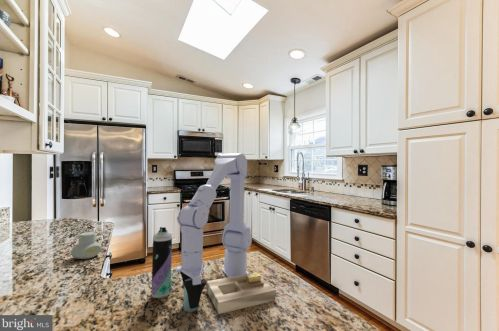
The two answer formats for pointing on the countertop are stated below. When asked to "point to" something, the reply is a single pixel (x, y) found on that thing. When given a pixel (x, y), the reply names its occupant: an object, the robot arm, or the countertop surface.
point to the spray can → (161, 263)
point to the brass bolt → (253, 278)
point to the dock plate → (238, 293)
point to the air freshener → (86, 246)
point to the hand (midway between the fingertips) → (191, 300)
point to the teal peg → (186, 303)
